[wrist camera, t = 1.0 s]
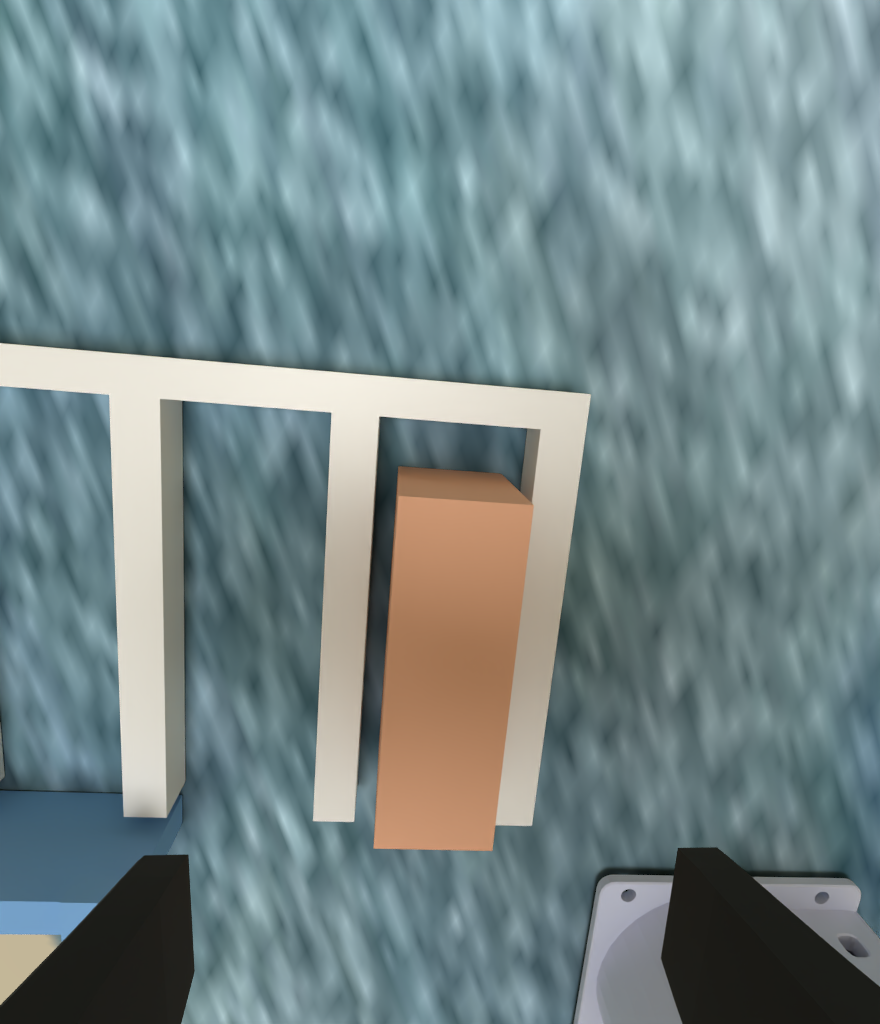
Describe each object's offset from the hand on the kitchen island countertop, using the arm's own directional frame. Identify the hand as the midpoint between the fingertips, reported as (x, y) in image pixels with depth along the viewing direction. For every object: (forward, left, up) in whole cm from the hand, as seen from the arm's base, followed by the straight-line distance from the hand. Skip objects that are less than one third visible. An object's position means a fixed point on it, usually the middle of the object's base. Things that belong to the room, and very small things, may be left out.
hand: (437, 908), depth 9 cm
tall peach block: (-1, -1, -10) cm, 10 cm away
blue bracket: (+10, +6, -10) cm, 16 cm away
